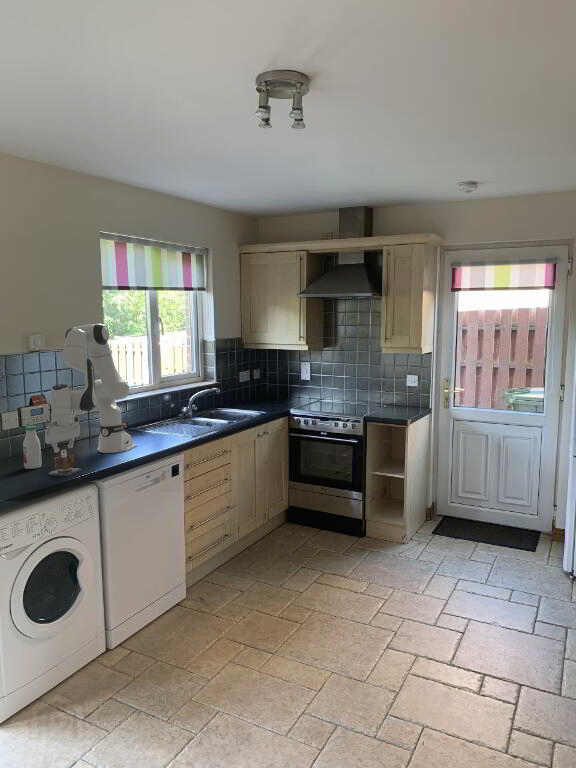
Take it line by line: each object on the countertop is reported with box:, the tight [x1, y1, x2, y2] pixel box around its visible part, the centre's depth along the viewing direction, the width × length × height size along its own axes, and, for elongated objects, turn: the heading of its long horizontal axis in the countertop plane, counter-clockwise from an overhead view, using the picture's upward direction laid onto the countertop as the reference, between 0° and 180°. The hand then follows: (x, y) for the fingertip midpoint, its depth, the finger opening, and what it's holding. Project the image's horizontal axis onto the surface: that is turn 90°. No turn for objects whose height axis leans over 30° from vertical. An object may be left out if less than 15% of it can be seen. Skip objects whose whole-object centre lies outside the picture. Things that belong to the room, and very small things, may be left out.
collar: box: [53, 454, 75, 470], centre depth 263 cm, size 6×6×5 cm
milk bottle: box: [22, 425, 43, 470], centre depth 275 cm, size 8×8×20 cm
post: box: [48, 449, 82, 477], centre depth 263 cm, size 10×10×10 cm
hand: (63, 450), depth 262 cm, fingers open, 8 cm apart
